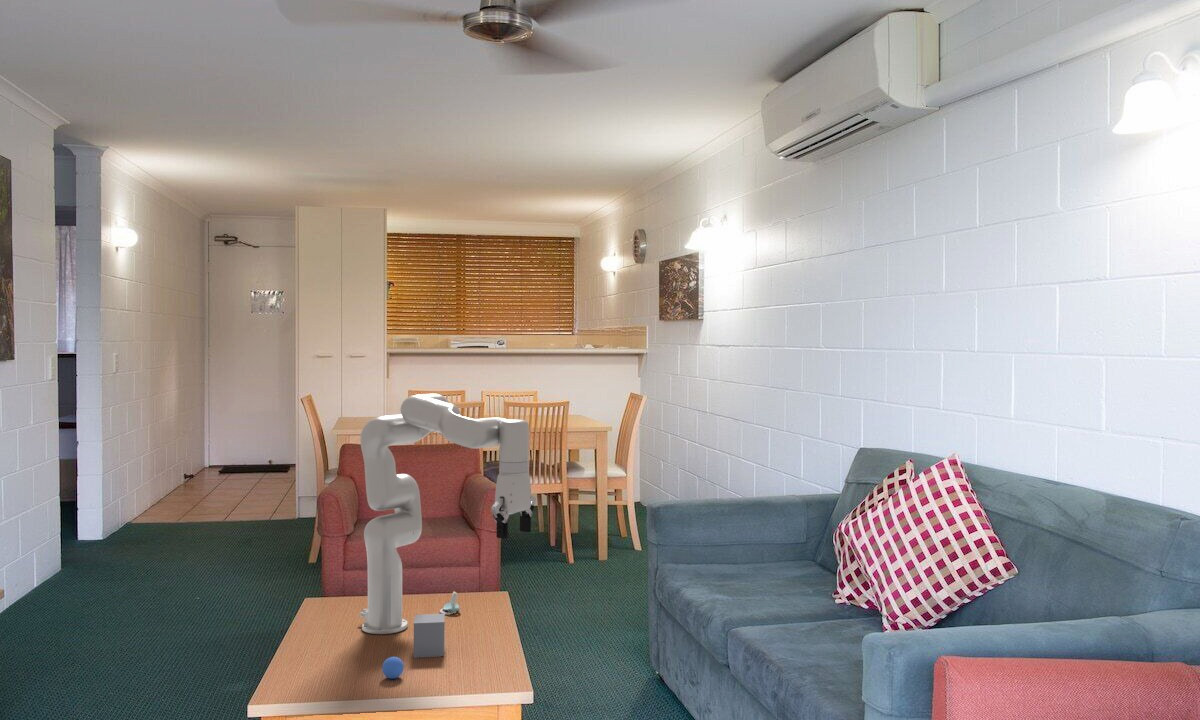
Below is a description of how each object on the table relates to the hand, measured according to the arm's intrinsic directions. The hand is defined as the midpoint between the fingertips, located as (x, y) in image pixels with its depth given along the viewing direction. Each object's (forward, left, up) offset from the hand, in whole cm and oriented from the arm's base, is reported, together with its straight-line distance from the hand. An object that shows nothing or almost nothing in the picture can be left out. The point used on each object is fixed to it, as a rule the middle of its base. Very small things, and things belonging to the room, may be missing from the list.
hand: (514, 534), depth 236 cm
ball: (-15, -28, -29) cm, 43 cm away
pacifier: (-40, +22, -32) cm, 55 cm away
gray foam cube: (-20, -9, -31) cm, 38 cm away
